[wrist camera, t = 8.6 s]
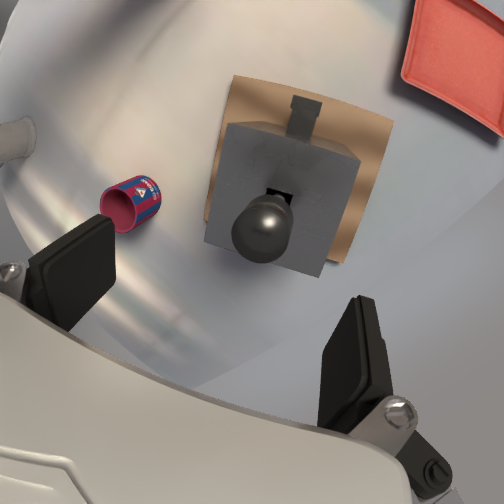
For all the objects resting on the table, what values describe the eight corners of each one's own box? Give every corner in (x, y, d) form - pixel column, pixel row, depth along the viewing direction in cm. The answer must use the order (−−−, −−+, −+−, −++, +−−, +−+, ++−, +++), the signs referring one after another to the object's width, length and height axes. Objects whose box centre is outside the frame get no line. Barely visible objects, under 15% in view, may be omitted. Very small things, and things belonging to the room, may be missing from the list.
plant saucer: (516, 41, 19) (528, 38, 16) (499, 141, 27) (511, 144, 24) (413, -21, 20) (420, -30, 17) (392, 82, 29) (398, 79, 26)
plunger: (269, 130, 33) (204, 147, 15) (334, 149, 32) (354, 191, 14) (253, 191, 37) (184, 274, 18) (315, 210, 36) (305, 314, 18)
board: (237, 76, 32) (233, 74, 31) (391, 120, 31) (394, 120, 29) (207, 216, 42) (203, 220, 41) (342, 258, 40) (342, 263, 39)
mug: (169, 202, 42) (146, 217, 36) (130, 233, 46) (106, 251, 40) (144, 166, 41) (117, 176, 35) (108, 202, 45) (82, 215, 39)
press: (270, 94, 31) (237, 79, 18) (351, 118, 31) (374, 117, 18) (245, 196, 38) (203, 241, 25) (320, 219, 37) (318, 278, 24)
